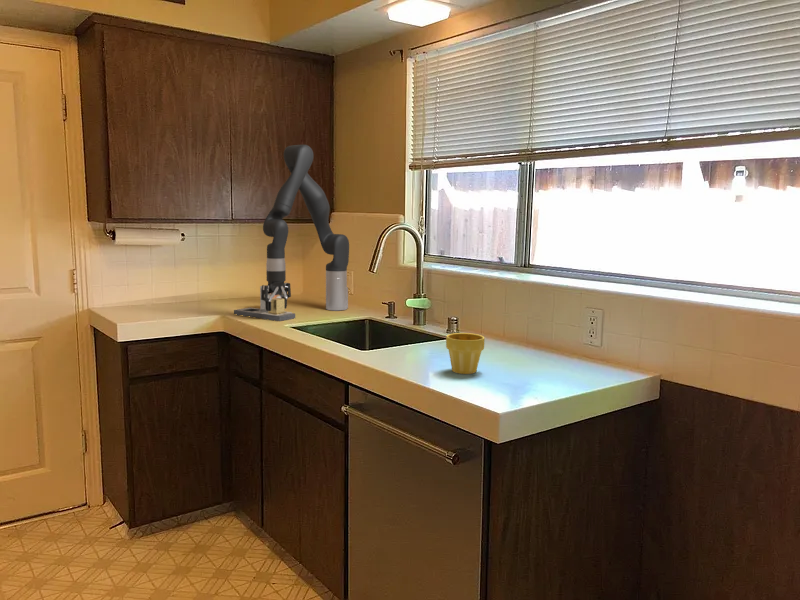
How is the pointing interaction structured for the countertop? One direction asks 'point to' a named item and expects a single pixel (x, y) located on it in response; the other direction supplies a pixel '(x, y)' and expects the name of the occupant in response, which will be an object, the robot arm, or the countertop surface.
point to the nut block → (277, 306)
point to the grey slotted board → (264, 314)
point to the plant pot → (464, 351)
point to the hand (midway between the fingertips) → (276, 309)
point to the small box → (262, 302)
